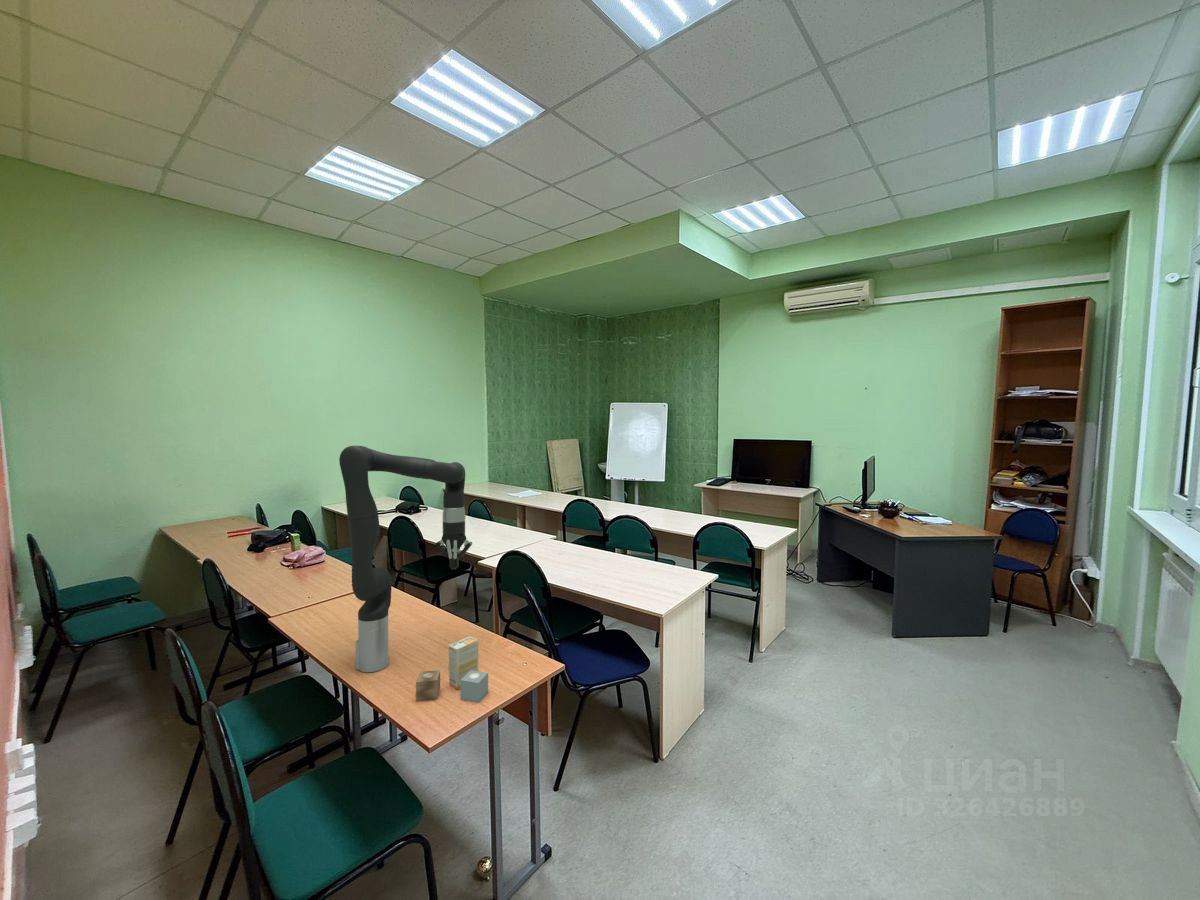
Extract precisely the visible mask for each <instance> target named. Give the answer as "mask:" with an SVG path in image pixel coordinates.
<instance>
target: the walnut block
mask: <svg viewBox="0 0 1200 900" xmlns="http://www.w3.org/2000/svg"><path fill="white" fill-rule="evenodd" d="M440 691H441V670H440V669H437V670H425V671H419V672H418V676H417V678H416V681H415V702H424V701H435V700H438V699H439V694H440Z"/></svg>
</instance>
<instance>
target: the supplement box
mask: <svg viewBox="0 0 1200 900" xmlns="http://www.w3.org/2000/svg"><path fill="white" fill-rule="evenodd" d="M470 670H473V671H479V640H478V639H476V638H475V637H472V636H470V635H469V636H467V637H465V638H462V639H460V640H457V641H455V642H453V643H450V644H448V684H449V686H451V687H453V688H454V689H456V690H459V689H460V680H461V679H462V678H463V677H464V676H465V675H466V674H467V673H468V672H469V671H470Z"/></svg>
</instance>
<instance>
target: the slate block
mask: <svg viewBox="0 0 1200 900" xmlns="http://www.w3.org/2000/svg"><path fill="white" fill-rule="evenodd" d="M459 689H460V690H459V693H460V694H459V696H460V697H459V699H460V700H462V701H466V702H467V701H468V702H475V703H479V702H481V700H482V699H483V698H484V697H485V696H486V694H487V693H488V692H489V672H485V671H479V670H478V671H473V670H470V671H469V672H468V673H467V674H466V675H465V676H464V677H463V678H462V679H461V680H460V688H459Z"/></svg>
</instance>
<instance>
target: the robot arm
mask: <svg viewBox="0 0 1200 900" xmlns="http://www.w3.org/2000/svg"><path fill="white" fill-rule="evenodd" d="M338 459H339V468H340V471H341V472H340V473H341V475H342V476H341V477H342V479H343V485H344V491H345V503H346V505H345V506H346V513H347V514H346V515H347V527H348V533H349V540H350V543H349V544H350V554H351V586H352V587H351V588H352V592H353V594H354V596H355V597H356V598H357V600H359V601H362V602H364V603H363V604H362V605H361V607H360V608H359V609H358V611H357V619H358V620H357V624H358V625H357V626H358V630H357V632H358V633H357V634H358V637H357V638H358V639H357V640H356V641H355V670H359V671H360V672H362V673H374V672H378V671H381V670H383V669H385V668H387V666H388V665H389V664H390V663H389V661H390V660H389V659H390V657H389V656H390V655H389V654H390V653H389V651H390V650H389V649H390V648H389V632H390V631H389V610H390V607H391V603H392V577H391V574H390V572H389V571H388V569H386V568H385V567H384V566H383V567H382V566H376V567H373V554H374V550H375V547H376V544H377V541H378V539H379V535H380V518H379V512H378V507H377V504H376V501H375V499H374V497H373V494H372V491H371V489H370V486H369V485H370V484H369V472H385V473H392V474H397V475H401V476H404V477H409V478H414V479H416V478H417V479H422V480H433V481H435V482H439V483H445V484H444V492H443V497H442V498H443V499H442V502H443V507H442V536H441V539H440V540H439V541H436V543H435V546H436V547H437V549H438V551H439V552H440V553H441V555H443V557H444V558H448V561H449V562H448V563H449V564H448V565H449V568H450V570H456V569H457V568H458V567H459V566H460V565H459V561H460V560H459V558H462V557H464V555H466V553H467V551H468V550H469V549H470V548H471V546H473V542H472V541H469V540H468V539H467V536H466V511H465V485H466V469H465V467H464V465H462V464H461V463H460V462H457V461H453V462H444V461H443V462H442V461H436V460H434V459H430V458H425V457H416V456H408V455H407V456H406V455H397V454H392V453H386V452H381V451H378V450H375V449H371V448H369V447H366V446H363V445H350V446H346V447H345V448H344V449H343V450H342V451H341V452H340V454H339V457H338ZM462 546H463V549H461V548H462Z"/></svg>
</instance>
